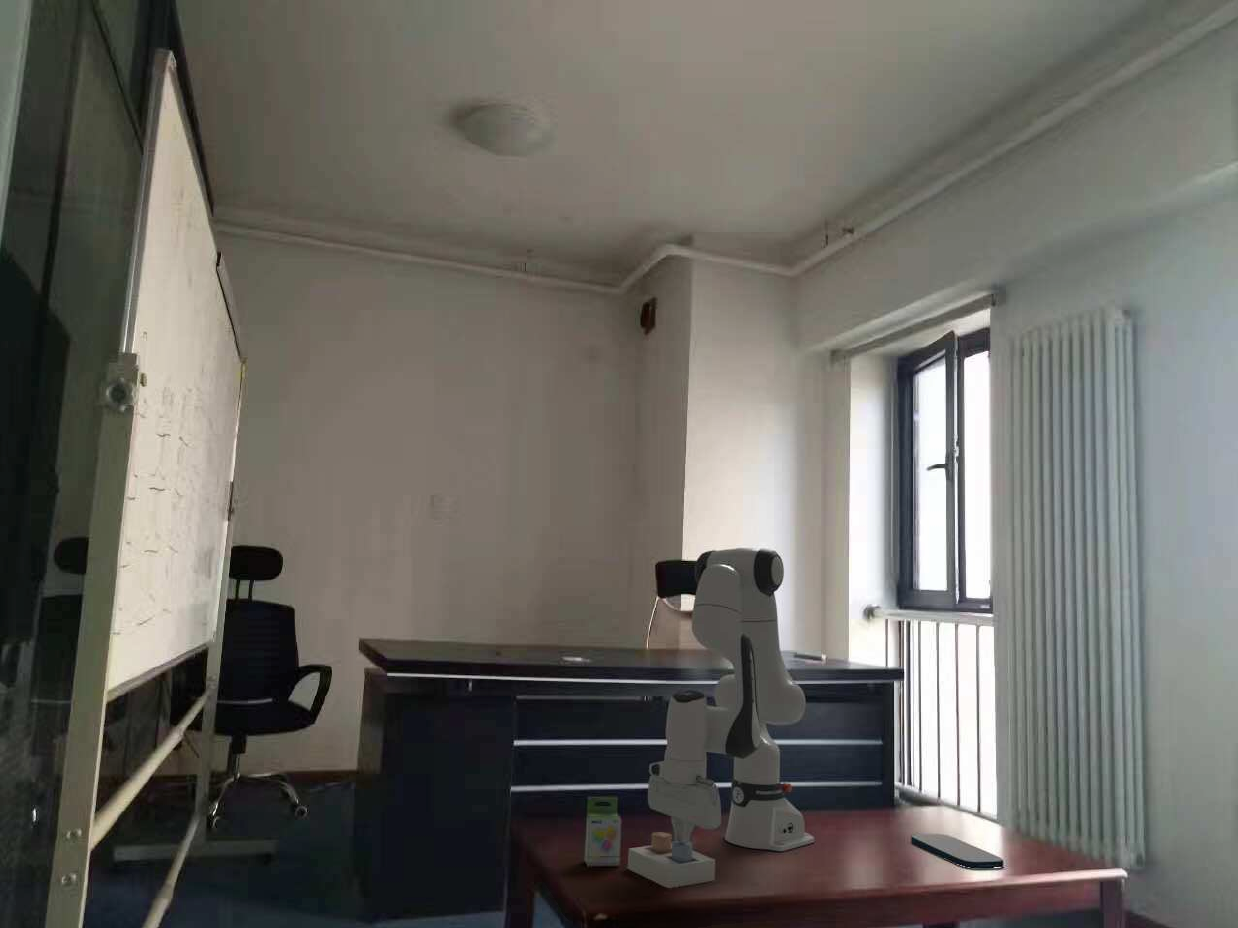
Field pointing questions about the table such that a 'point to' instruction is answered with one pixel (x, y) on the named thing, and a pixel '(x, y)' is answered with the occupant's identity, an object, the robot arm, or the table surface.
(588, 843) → the ink box
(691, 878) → the white flat block
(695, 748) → the robot arm
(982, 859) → the external hard drive
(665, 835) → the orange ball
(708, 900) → the table surface
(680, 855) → the grey piece
